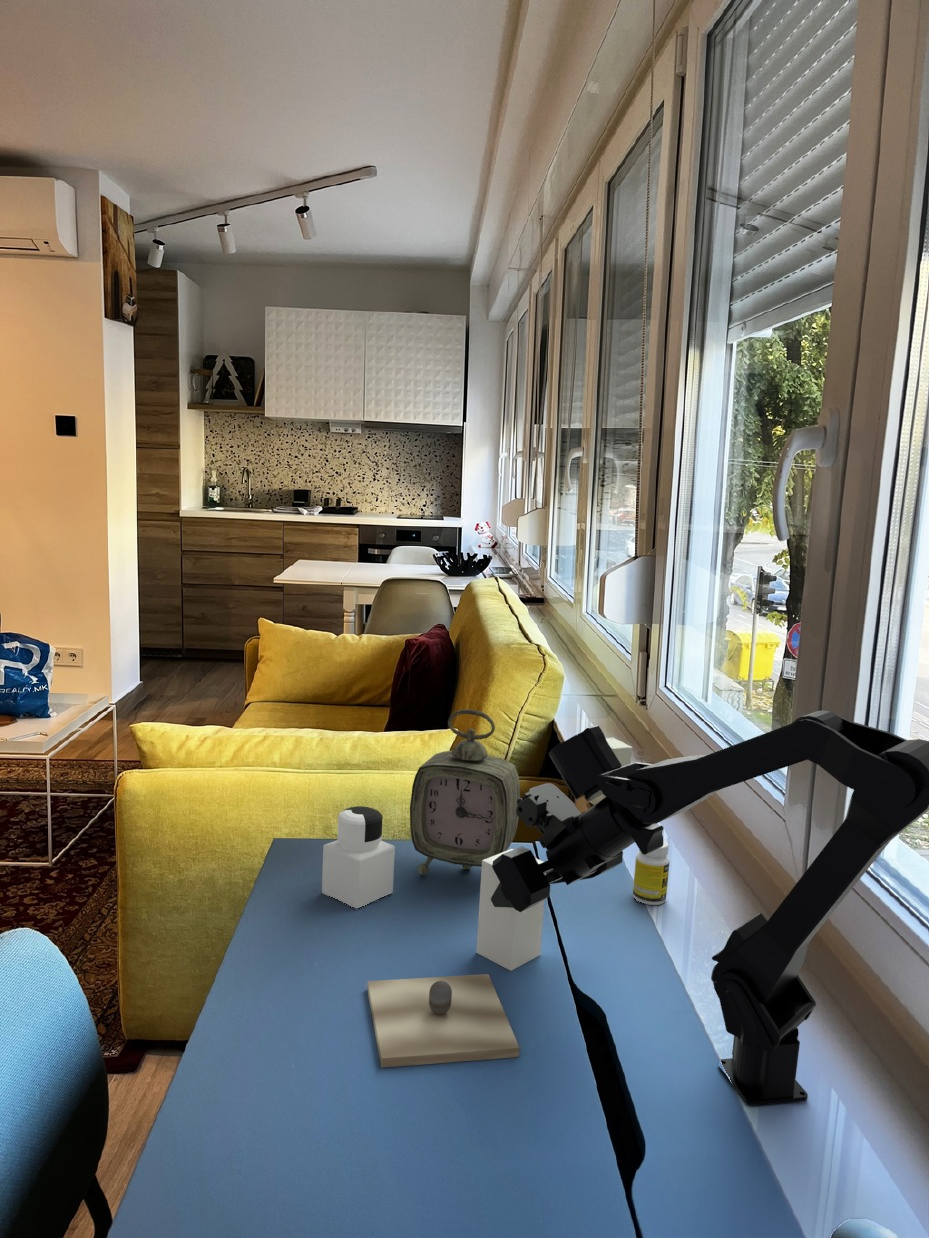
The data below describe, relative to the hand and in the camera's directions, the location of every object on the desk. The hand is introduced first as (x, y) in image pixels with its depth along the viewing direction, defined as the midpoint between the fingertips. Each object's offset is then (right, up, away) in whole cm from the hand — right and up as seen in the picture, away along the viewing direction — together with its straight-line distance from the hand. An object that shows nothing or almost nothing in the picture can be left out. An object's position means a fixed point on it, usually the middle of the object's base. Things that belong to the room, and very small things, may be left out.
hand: (518, 891), depth 111 cm
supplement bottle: (+20, -7, +19) cm, 29 cm away
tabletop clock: (-7, -5, +24) cm, 25 cm away
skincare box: (+20, -1, +56) cm, 59 cm away
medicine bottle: (-21, -5, +16) cm, 27 cm away
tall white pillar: (-1, -8, +2) cm, 9 cm away
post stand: (-9, -10, -13) cm, 19 cm away
